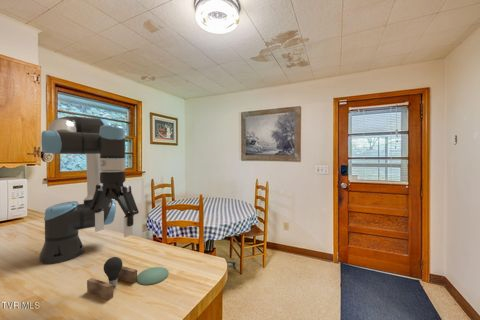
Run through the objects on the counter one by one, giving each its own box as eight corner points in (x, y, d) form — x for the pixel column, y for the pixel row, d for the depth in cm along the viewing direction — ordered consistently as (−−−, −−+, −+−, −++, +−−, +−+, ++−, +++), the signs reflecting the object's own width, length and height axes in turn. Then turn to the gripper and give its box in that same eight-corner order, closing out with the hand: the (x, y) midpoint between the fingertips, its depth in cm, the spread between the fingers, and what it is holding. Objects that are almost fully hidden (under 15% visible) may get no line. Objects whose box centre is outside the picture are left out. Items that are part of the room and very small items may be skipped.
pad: (129, 280, 77) (129, 279, 77) (152, 266, 87) (152, 264, 87) (153, 287, 73) (153, 286, 73) (174, 271, 83) (174, 270, 83)
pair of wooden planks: (87, 292, 71) (87, 280, 71) (117, 275, 81) (117, 264, 81) (108, 299, 67) (108, 287, 67) (137, 280, 77) (137, 269, 77)
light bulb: (109, 282, 76) (108, 254, 76) (125, 281, 77) (125, 253, 77) (100, 292, 71) (99, 261, 71) (117, 291, 71) (117, 261, 71)
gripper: (77, 170, 74) (77, 231, 75) (131, 172, 65) (131, 242, 66) (98, 169, 81) (98, 225, 82) (149, 171, 72) (150, 234, 73)
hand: (113, 233), depth 74 cm, fingers open, 13 cm apart
